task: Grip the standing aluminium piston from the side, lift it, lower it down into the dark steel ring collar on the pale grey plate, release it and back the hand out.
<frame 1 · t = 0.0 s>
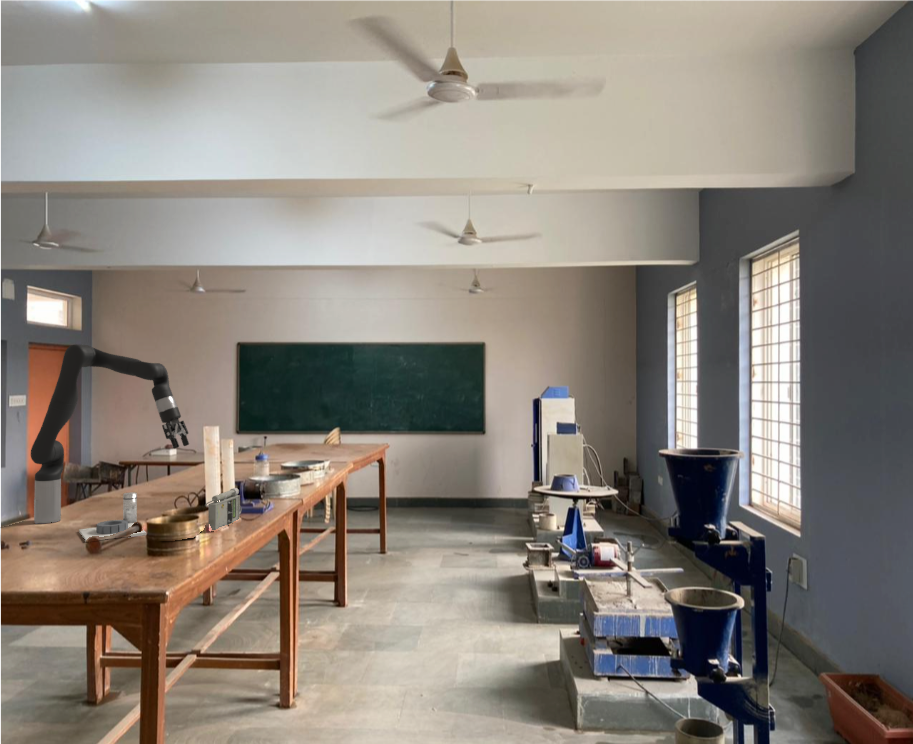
hand: (181, 446, 271), 31 cm above the table, tool tilted 20°, fingers open, 8 cm apart
piston: (129, 522, 273), on the table
geiger counter: (226, 525, 270), on the table
ring plate: (112, 533, 255), on the table
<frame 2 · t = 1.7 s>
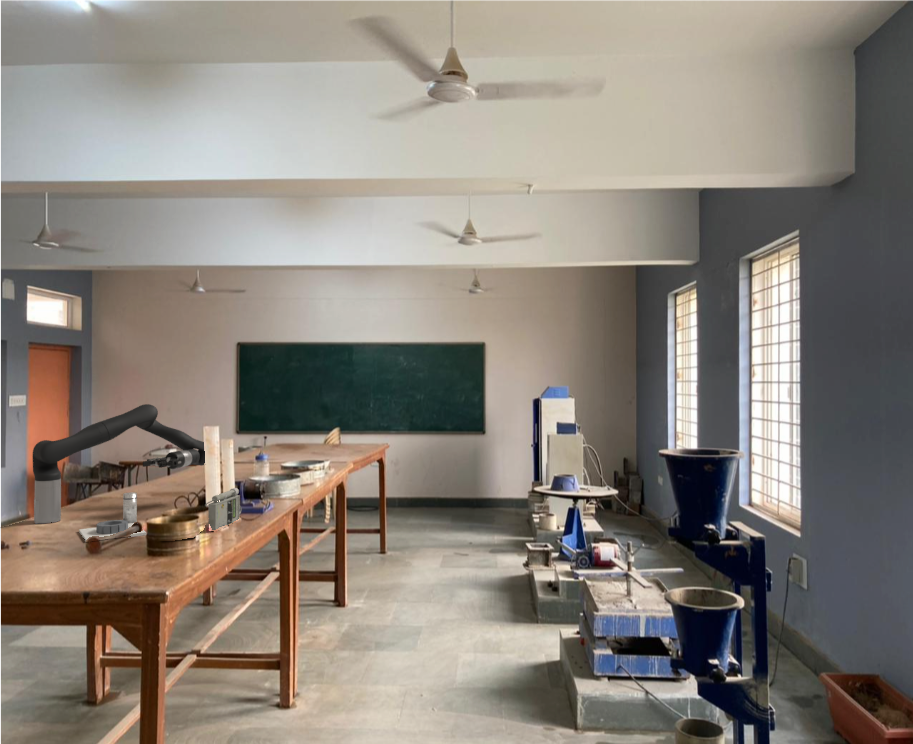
hand: (151, 464, 284), 22 cm above the table, tool horizontal, fingers open, 8 cm apart
nothing on the table moved.
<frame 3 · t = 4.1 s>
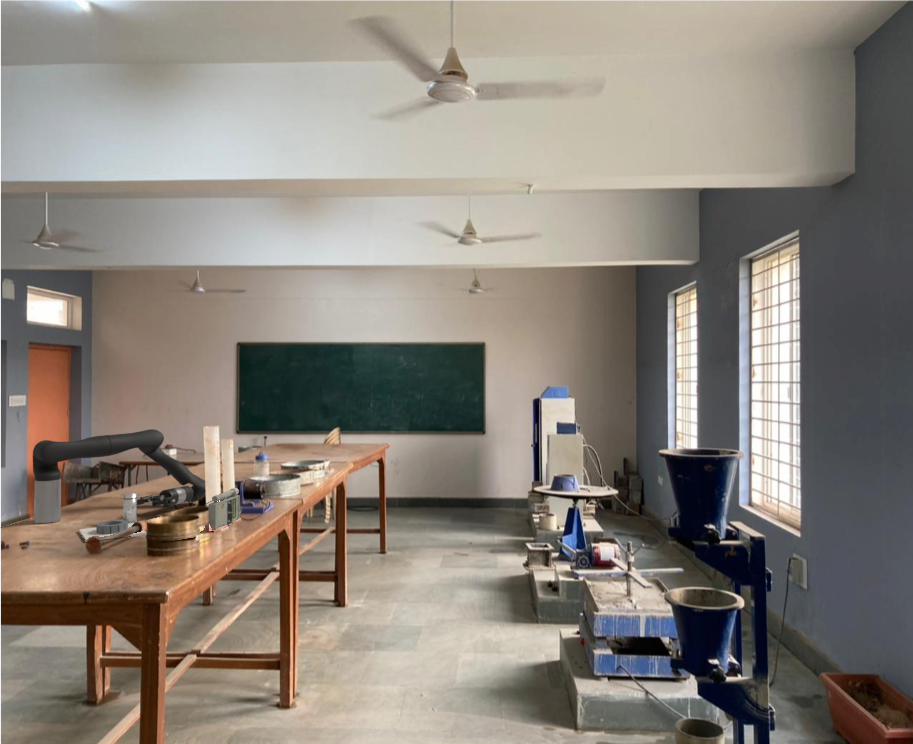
hand: (144, 503, 281), 6 cm above the table, tool horizontal, fingers open, 8 cm apart
nothing on the table moved.
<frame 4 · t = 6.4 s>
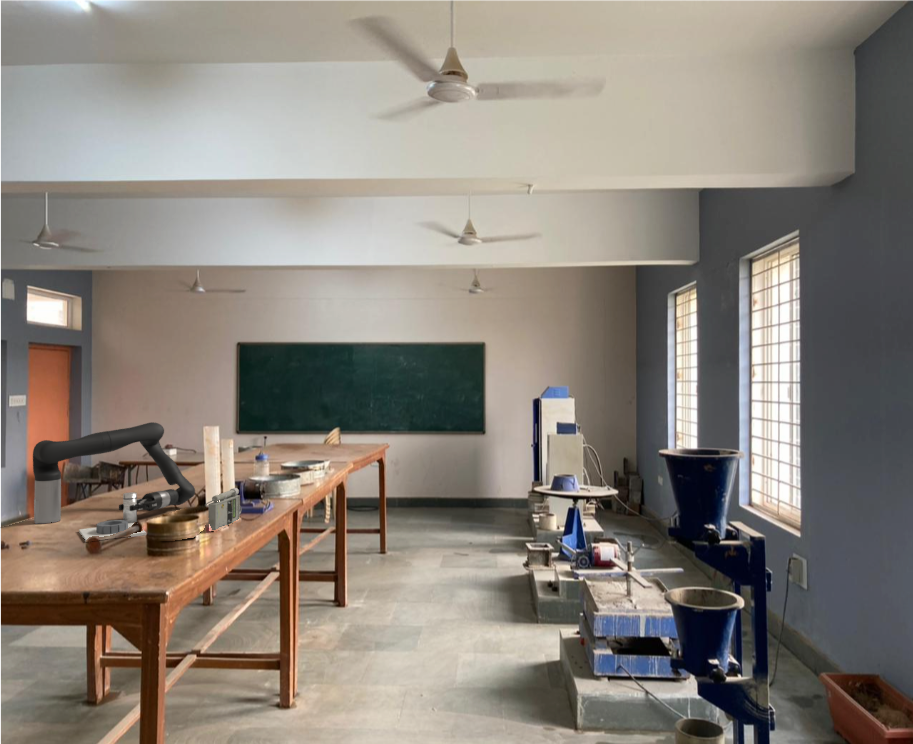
hand: (125, 508, 271), 7 cm above the table, tool horizontal, fingers closed on piston, 5 cm apart
piston: (129, 522, 273), on the table, touching gripper
everything else where it was.
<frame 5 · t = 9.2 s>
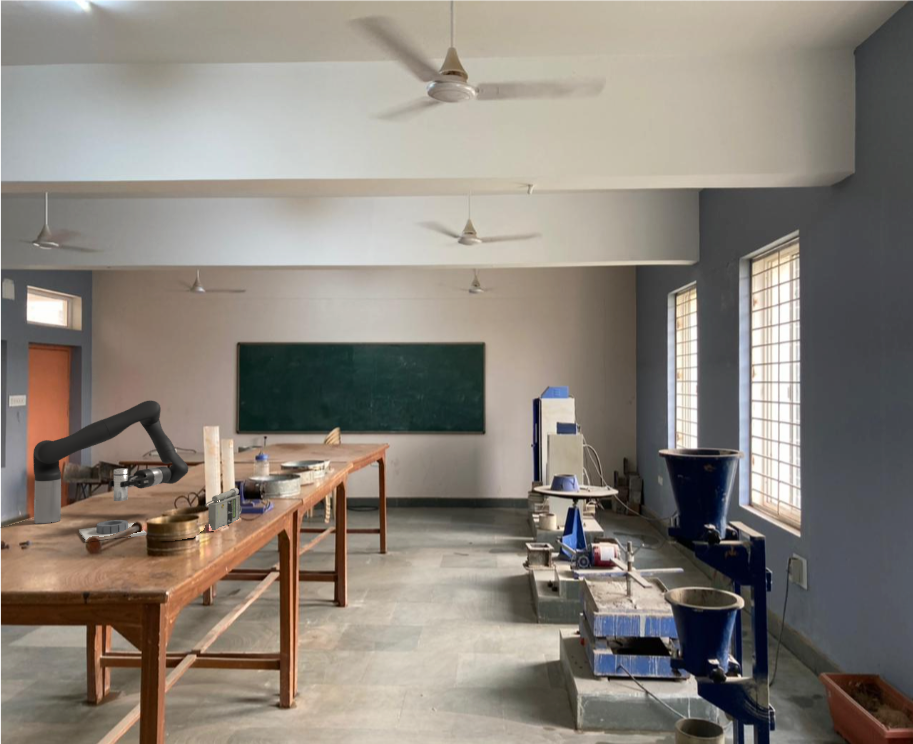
hand: (115, 484, 260), 18 cm above the table, tool horizontal, fingers closed on piston, 5 cm apart
piston: (120, 499, 263), point 11 cm above the table, touching gripper
everything else where it was.
when the fingers open (10 cm above the table, at t = 12.2 s): piston drops 2 cm, resting on ring plate.
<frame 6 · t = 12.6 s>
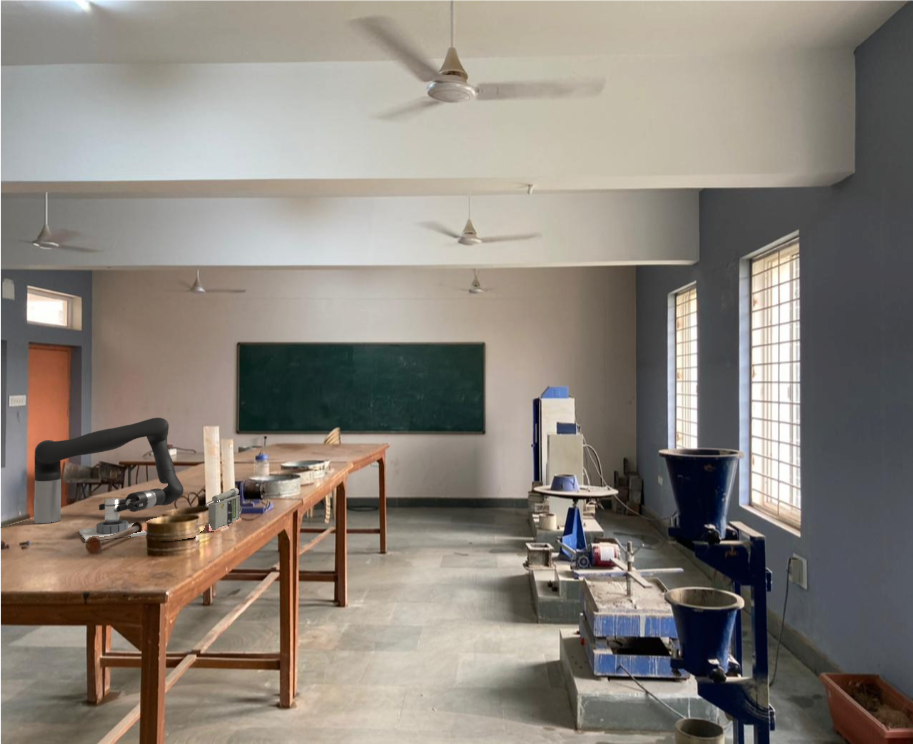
hand: (108, 508, 253), 10 cm above the table, tool horizontal, fingers open, 8 cm apart
piston: (112, 530, 255), point 1 cm above the table, touching ring plate
everything else where it was.
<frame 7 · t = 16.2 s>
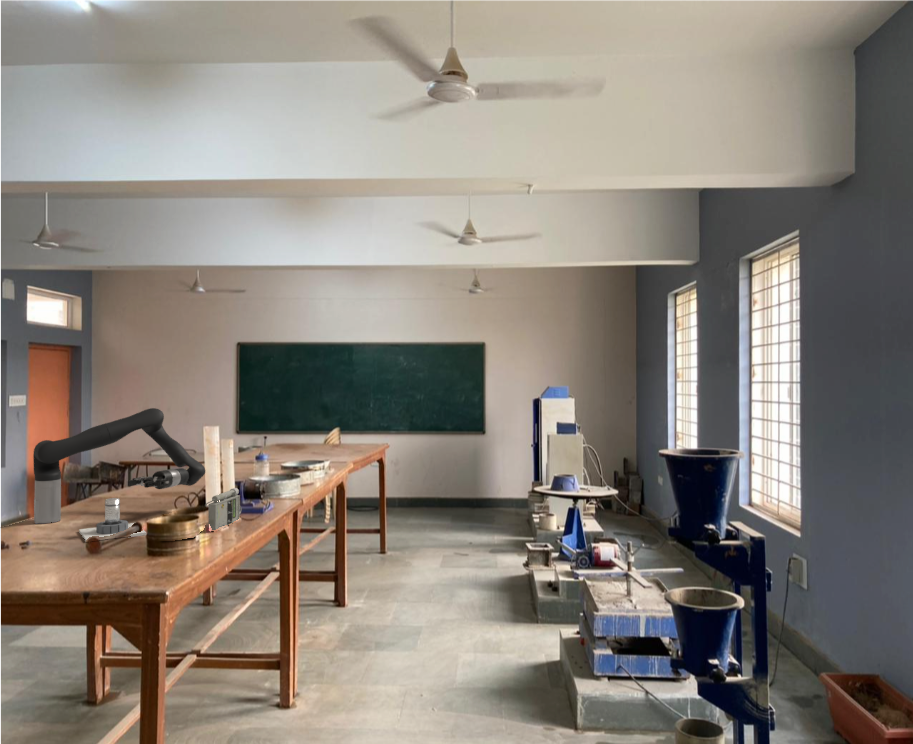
hand: (136, 484, 267), 17 cm above the table, tool horizontal, fingers open, 8 cm apart
nothing on the table moved.
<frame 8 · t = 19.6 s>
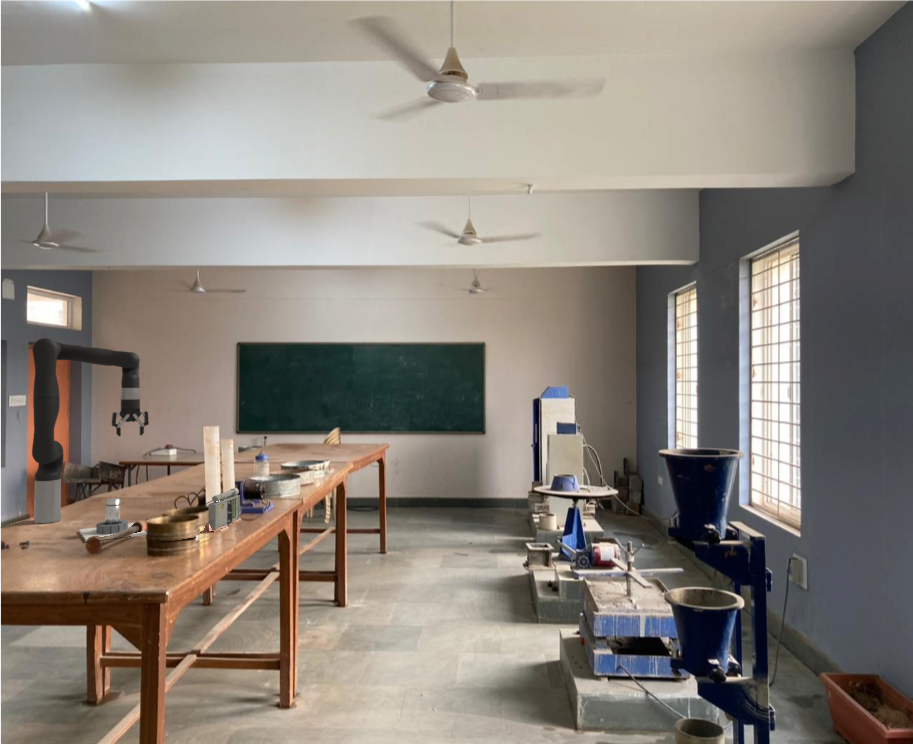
hand: (130, 435, 289), 34 cm above the table, tool pointing down, fingers open, 8 cm apart
nothing on the table moved.
at the end: piston 0.1 cm off-centre on the ring plate, point 1.1 cm above the ring plate's base; piston tilted 2°; the gripper is holding nothing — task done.
